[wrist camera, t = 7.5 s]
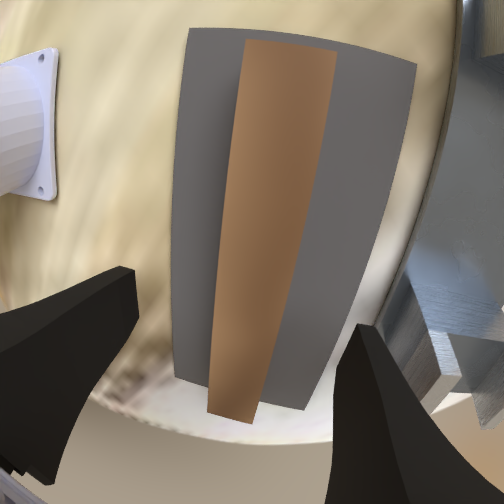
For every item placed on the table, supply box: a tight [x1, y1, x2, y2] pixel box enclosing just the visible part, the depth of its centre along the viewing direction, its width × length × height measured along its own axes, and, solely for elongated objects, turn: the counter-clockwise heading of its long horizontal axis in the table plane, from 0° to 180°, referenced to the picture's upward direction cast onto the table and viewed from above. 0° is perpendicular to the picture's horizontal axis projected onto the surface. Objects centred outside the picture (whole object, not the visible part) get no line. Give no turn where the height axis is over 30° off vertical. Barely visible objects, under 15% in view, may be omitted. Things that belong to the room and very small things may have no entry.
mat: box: [171, 28, 417, 410], centre depth 13 cm, size 8×18×1 cm, turn 172°
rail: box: [207, 39, 338, 424], centre depth 11 cm, size 2×16×2 cm, turn 172°
